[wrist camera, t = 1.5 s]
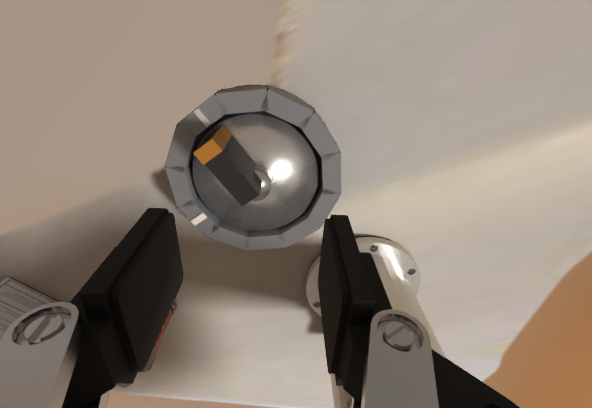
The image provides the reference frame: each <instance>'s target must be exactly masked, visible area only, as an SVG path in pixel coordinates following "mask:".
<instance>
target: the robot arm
mask: <svg viewBox="0 0 592 408" xmlns="http://www.w3.org/2000/svg"><path fill="white" fill-rule="evenodd" d="M182 280H183V270H182V263H181V257H180V250H179V244H178V237H177V231H176V225H175V218H174V215H173V213H169V211H168V210H167V209H163V208H148V209H147V210H146V212H145V213H144V214H143V215H142V216H141V218H140V219H139V220H138V221H137V223H136V224H135V225H134V226H133V227H132V229H131V230H130V231H129V232H128V234H127V235H126V236H125V237H124V238H123V240H122V241H121V242H120V243H119V244H118V246H117V247H115V248H114V250H113V251H112V252H111V253H110V254H109V256H108V257H107V258H106V259H105V260H104V262H103V263H102V264H101V265H100V267H99V268H98V269H97V270H96V271H95V273H94V274H93V275H92V276H91V277H90V279H89V280H88V281H87V282H86V283H85V285H84V286H83V287H82V288H81V290H80V291H79V292H78V293H77V294H76V296H75V297H74V298H73V299H72V300H71V302H70V303H68V302H52V303H48V304H45V305H41V306H39V307H36V308H34V309H32V310H30V311H28V312H26V313H25V314H23V315H21V316H20V317H19V318H18V319H16V320H15V321H14V322H13V323H12V324H11V325H10V326H9V327H8V329H7V330H6V331H5V333H4V335H3V336H2V338H1V340H0V408H106V407H107V403H108V398H109V390H111V389H112V388H114V387H115V386H116V384H117V383H118V384H133V381H134V379H135V377H136V375H137V372H138V371H143V370H144V368H145V366H146V364H147V362H148V360H149V357H150V355H151V353H152V350H153V348H154V346H155V344H156V341H157V339H158V337H159V334H160V332H161V330H162V327H163V325H164V323H165V321H166V318H167V316H168V314H169V311H170V309H171V307H172V304H173V302H174V300H175V298H176V295H177V293H178V291H179V288H180V286H181V284H182ZM419 285H420V273H419V269H418V266H417V264H416V262H415V261H414V259H413V257H412V256H411V255H410V253H409V252H408V251H407V250H406V249H404V248H403V247H402V246H401V245H399V244H397V243H395V242H393V241H390V240H386V239H383V238H375V237H361V238H355V236H354V233H353V230H352V227H351V224H350V221H349V218H348V216H347V215H331V217H330V219H325V223H324V231H323V239H322V248H321V255H320V256H319V257H318V258H317V259H316V260H315V261H314V263H313V264H312V266H311V267H310V269H309V271H308V274H307V278H306V294H307V299H308V301H309V304H310V306H311V307H312V308H313V310H314V311H315V312H316V313H317V314H318V315H319V316H320V317H322V324H323V333H324V341H325V349H326V358H327V366H328V372H329V374H330V375H331V383H332V391H333V399H334V407H335V408H519V407H518V406H516V405H515V404H514V403H513V402H512V401H510V400H509V399H507V398H506V397H504V396H503V395H501V394H500V393H498V392H497V391H495V390H493V389H492V388H490V387H489V386H487V385H486V384H484V383H483V382H481V381H480V380H478V379H477V378H475V377H474V376H472V375H471V374H469V373H468V372H466V371H465V370H463V369H462V368H460V367H459V366H457V365H455V364H454V363H452V362H451V361H449V360H448V359H446V357H445V354H444V352H443V350H442V348H441V346H440V344H439V342H438V340H437V338H436V336H435V334H434V332H433V330H432V328H431V326H430V324H429V322H428V320H427V318H426V316H425V314H424V312H423V310H422V308H421V306H420V304H419V302H418V300H417V298H416V294H417V292H418V289H419Z"/></svg>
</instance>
